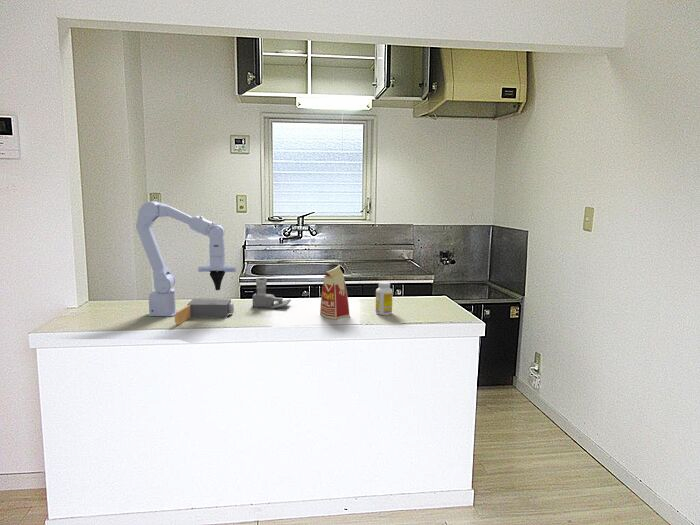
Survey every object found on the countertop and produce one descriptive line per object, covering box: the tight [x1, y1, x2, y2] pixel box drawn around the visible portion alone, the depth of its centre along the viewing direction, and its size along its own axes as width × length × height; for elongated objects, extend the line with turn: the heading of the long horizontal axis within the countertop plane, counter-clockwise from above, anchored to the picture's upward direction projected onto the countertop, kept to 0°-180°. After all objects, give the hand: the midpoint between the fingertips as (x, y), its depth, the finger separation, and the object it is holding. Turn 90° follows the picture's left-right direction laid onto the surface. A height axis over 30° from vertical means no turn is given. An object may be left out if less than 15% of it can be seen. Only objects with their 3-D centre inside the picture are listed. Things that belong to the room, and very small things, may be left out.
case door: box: [174, 305, 192, 326], centre depth 198 cm, size 11×2×5 cm, turn 174°
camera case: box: [186, 298, 235, 318], centre depth 209 cm, size 17×9×5 cm, turn 92°
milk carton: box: [319, 264, 351, 320], centre depth 208 cm, size 9×9×20 cm
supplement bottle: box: [375, 280, 393, 316], centre depth 214 cm, size 7×7×13 cm
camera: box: [252, 277, 292, 310], centre depth 221 cm, size 9×12×15 cm
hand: (217, 289), depth 210 cm, fingers closed
